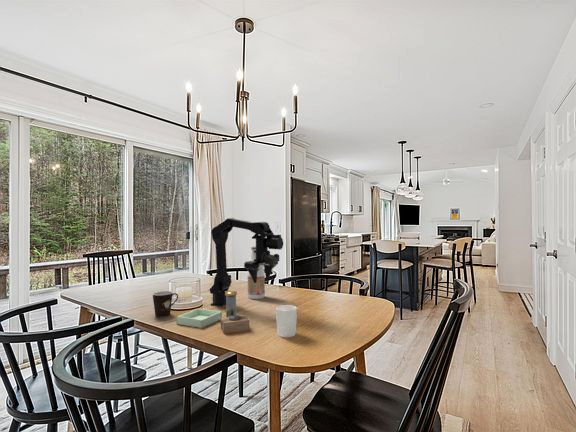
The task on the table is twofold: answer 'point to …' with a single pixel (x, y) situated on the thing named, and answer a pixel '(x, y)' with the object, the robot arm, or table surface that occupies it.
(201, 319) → the green tray
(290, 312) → the white cup
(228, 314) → the grey metal cylinder
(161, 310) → the coffee mug
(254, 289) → the fruit juice
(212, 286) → the robot arm
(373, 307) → the table surface
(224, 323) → the block
